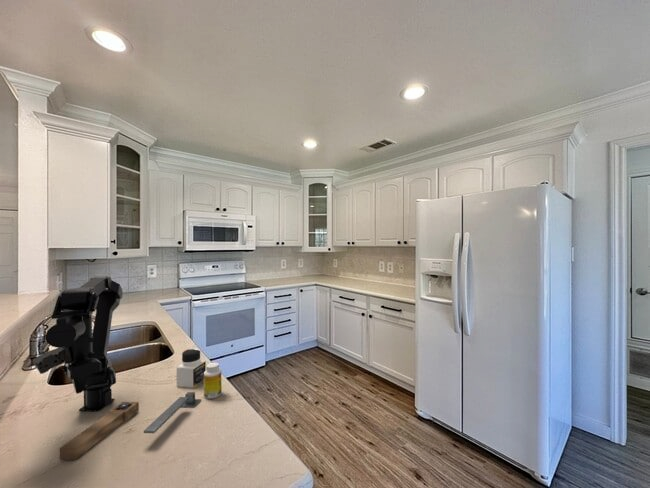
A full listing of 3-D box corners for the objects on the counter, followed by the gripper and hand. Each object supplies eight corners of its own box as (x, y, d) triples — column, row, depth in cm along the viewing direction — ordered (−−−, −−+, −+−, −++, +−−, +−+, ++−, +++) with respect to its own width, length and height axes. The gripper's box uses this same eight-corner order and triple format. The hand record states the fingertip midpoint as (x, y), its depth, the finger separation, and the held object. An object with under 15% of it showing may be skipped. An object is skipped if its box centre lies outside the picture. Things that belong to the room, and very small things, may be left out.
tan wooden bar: (122, 410, 86) (122, 401, 86) (138, 410, 85) (138, 402, 85) (57, 459, 66) (57, 448, 66) (77, 459, 66) (77, 448, 66)
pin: (116, 419, 82) (116, 407, 82) (123, 413, 84) (123, 402, 84) (124, 419, 82) (124, 407, 82) (131, 414, 84) (131, 402, 84)
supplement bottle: (221, 397, 93) (221, 366, 93) (203, 400, 91) (203, 369, 91) (221, 389, 98) (221, 360, 98) (204, 392, 96) (204, 362, 96)
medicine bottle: (193, 388, 99) (193, 354, 99) (176, 386, 101) (175, 353, 101) (206, 378, 106) (205, 347, 106) (189, 377, 108) (189, 346, 108)
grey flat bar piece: (139, 446, 71) (139, 430, 71) (186, 400, 92) (186, 388, 92) (158, 446, 70) (158, 431, 70) (201, 400, 91) (200, 388, 91)
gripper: (31, 336, 75) (31, 394, 75) (41, 352, 64) (41, 420, 64) (84, 326, 84) (85, 378, 84) (102, 339, 72) (102, 399, 72)
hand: (78, 392), depth 76 cm, fingers closed
